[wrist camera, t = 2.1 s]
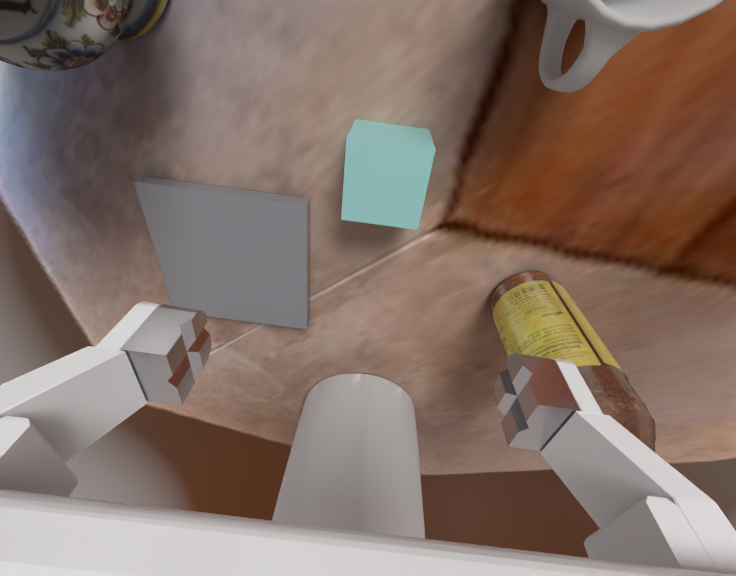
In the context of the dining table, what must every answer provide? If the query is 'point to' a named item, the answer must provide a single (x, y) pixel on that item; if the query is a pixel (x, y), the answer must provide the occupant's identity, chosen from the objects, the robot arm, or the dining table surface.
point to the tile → (231, 250)
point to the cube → (386, 173)
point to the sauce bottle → (567, 344)
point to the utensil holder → (355, 459)
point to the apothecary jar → (70, 29)
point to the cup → (604, 32)
